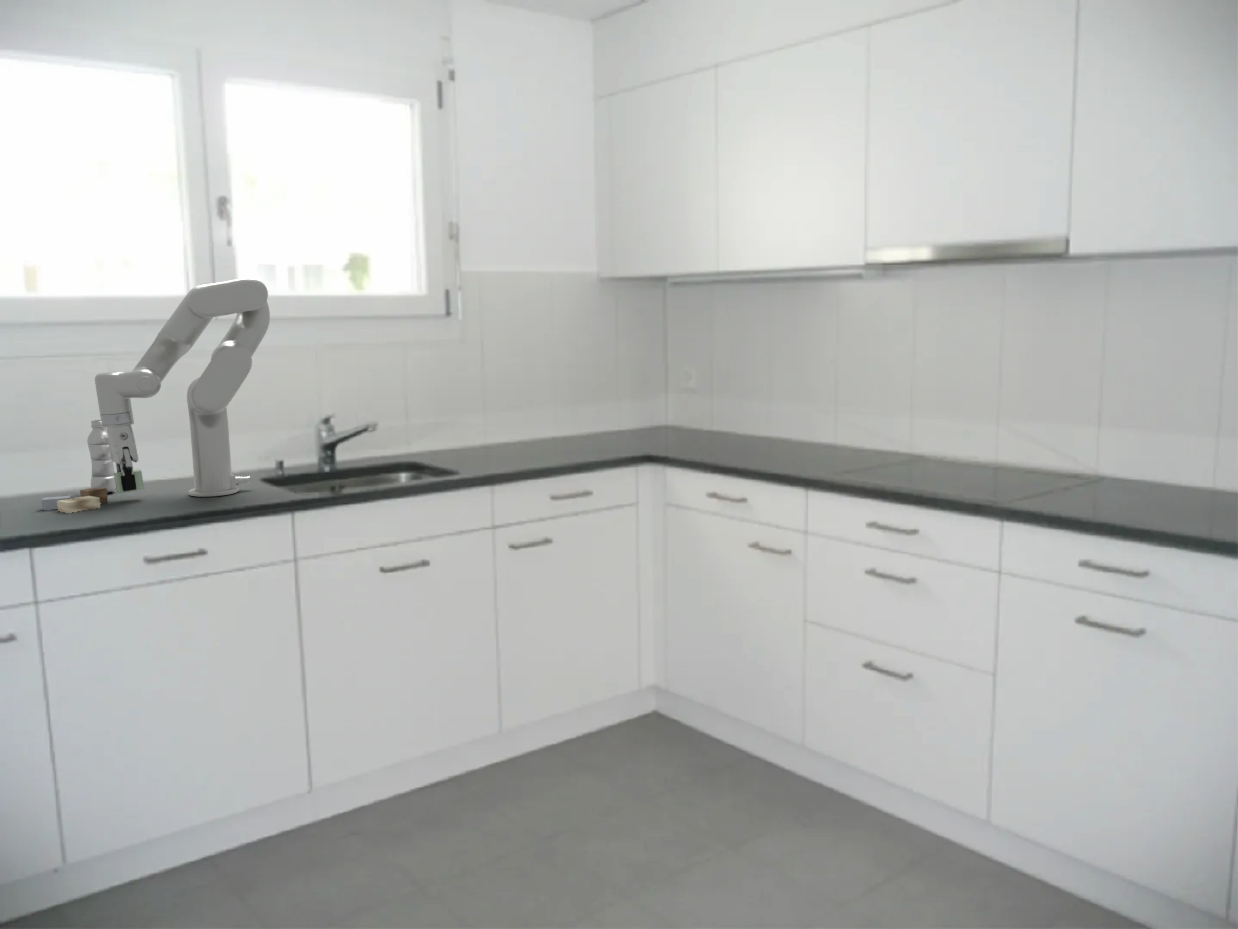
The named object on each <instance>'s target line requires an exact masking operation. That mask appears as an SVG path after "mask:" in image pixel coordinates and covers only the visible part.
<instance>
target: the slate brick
mask: <svg viewBox="0 0 1238 929" xmlns="http://www.w3.org/2000/svg"><path fill="white" fill-rule="evenodd" d="M66 499H72V495H65V496H64V495H63V496H62V495H61V496H47V497H43V498H42V499H41V506H42V511H43V510H47V511H52V510H51V509H58V507H57V501H59V500H66Z"/></svg>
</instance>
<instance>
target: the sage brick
mask: <svg viewBox="0 0 1238 929" xmlns="http://www.w3.org/2000/svg"><path fill="white" fill-rule="evenodd" d="M133 471H134V475H135V482H136V490H130V491H123V489H122V482H121V476H122V474H121V472H117V471H116V472H115V473H114V479H115V485H116V490H115V491H116V493H118V494H124V493H125V494H126V493H130V492H137V491H142V490H145V487H144V485H145V484H144V480H143V479H144V478H143V472H142V470H140V469H133Z"/></svg>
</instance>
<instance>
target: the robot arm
mask: <svg viewBox="0 0 1238 929" xmlns="http://www.w3.org/2000/svg"><path fill="white" fill-rule="evenodd" d="M268 298H269V290H268V288H267V287H266V284H265V283H264V282H263V281H261V280H260V279H259V278H256V277H243V278H237V279H232V280H227V281H220V282H215V283H208V284H201V285H196V286H194V287H192V288H191V289H190V290H189V291H188V292H187V293H186V295H185V297H184V298H183V299H182V300H181V302H180V303H179V304H178V306H177V307H176V308H175V309H174V312H173V313H171V315H170V317H169V319H168V320H167V321H166V322H165V323H164V325H163V326H162V328H161V329H160V331H159V332H158V333H157V335H156V337H155V339H154V340H153V341H152V343H151V344H150V346H149V348H148V349H147V350H146V351H145V353H144V354H143V356H142V357H141V358H140V360H139V361H138V362H137V364H136V365H135V366H134V368H133V369H132V371H128V372H127V371H126V372H124V371H108V372H99V373H98V374H96V375H95V377H94V384H95V390H96V396H97V403H98V404H97V405H98V408H99V409H98V410H99V415H100V416H99V417H100V420H101V424H102V427H106V429H107V435H108V443H109V449H110V455H111V459H112V461H113V463H115V468H116V473H117V472H121V474H122V476H121V482H122V489H123V491H130V490H136V482H135V475H134V471H133V470H134V467H133V463H138V462H139V455H138V449H137V444H136V441H135V440H136V439H135V434H134V431H133V427H132V425H134V424H135V421H134V420H135V419H134V414H133V408H132V399H149V398H152V397H154V396H156V395H157V394H158V393H160V390H161V388H162V383H163V381H164V379H165V378H166V376H168V375H169V372H170V371H171V370H172V369H173V367H174V366H175V364H177V363H178V361H179V360H180V359H181V358H183V356H185V355H186V354H187V353H189V351H190V350H191V349H192V348H193V346H195V344H196V342H197V341H198V339H199V338H200V336H201V335H202V334H203V332H204V331H205V330H206V328H207V326H208V325H209V324H210V323H211V322H212V320H213V319H214V318H215V317H222V316H228V315H234V314H236V316H235V319H234V321H233V322H232V324H231V326H230V327H229V329H228V330H227V332H226V334H225V336H224V337H223V338H222V340H221V341H220V342H219V344H218V345H217V346H216V348H215V349H213V351H212V353H211V357H210V362H209V363H208V364H207V366H206V368H205V369H204V371H203V372H202V374H201V375H200V377H197V378H195V379H193V380H192V381H191V383H190V384H189V386H188V388H187V392H186V403H187V409H188V417H189V418H188V419H189V426H190V427H189V428H190V441H191V442H190V444H191V445H190V446H191V455H192V456H191V457H192V468H193V470H192V471H193V480H194V482H193V483H194V488H191V489H189V490H188V494H189V496H191V497H197V498H198V497H202V498H205V497H209V498H210V497H220V496H227V495H233V494H236V493H238V492H240V488H239V485H241V484H251V482H252V481H251V476H250V475H248V476H247V475H246V476H236V475H235V474H233V473H232V458H231V447H230V446H231V445H230V444H231V443H230V430H229V418H228V411H227V410H228V409H227V407H228V406H229V404H230V403H231V401H232V400H233V399H234V397H235V396H236V394H237V392H238V391H239V389H240V387H241V386H242V385H243V383H244V381H245V380H246V379H247V377H248V376H249V373H250V372H251V369H252V365H253V359H252V357H253V355H254V354H255V352H256V350H257V349H258V348H259V346H260V344H261V342H262V341H263V339H264V337H265V336H266V334H267V332H268V329H269V325H270V319H271V318H270V317H271V316H270V314H271V313H270V307H269V303H268Z"/></svg>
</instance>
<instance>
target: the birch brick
mask: <svg viewBox="0 0 1238 929" xmlns="http://www.w3.org/2000/svg"><path fill="white" fill-rule="evenodd" d="M57 507H58V510H57V512H58V511H60V512H59V513H63V512H65V514H73V513H72V512H74V513H78V512H77V511H80V512H82V511H81V510H86V509H92V510H97V509H96V508H98V509H101V504H100V498H99V497H93V496H84V497H81V496H78V497H74V498H72V497H71V499H66V500H59V501H57ZM86 511H87V510H86Z"/></svg>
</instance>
